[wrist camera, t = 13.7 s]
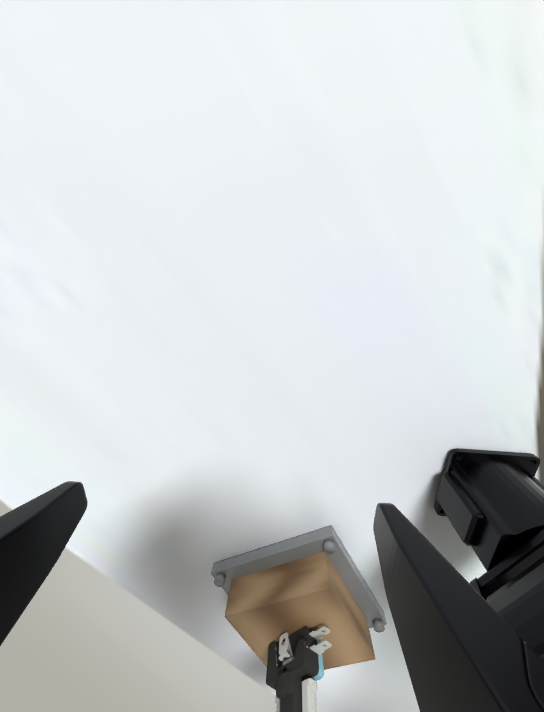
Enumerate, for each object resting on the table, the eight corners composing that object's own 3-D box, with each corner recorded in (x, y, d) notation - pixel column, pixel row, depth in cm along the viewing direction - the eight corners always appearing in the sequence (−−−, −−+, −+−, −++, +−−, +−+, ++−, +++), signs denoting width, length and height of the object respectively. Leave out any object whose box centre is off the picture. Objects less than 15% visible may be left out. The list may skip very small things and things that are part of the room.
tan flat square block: (324, 551, 25) (328, 588, 22) (366, 618, 27) (375, 659, 25) (231, 579, 27) (224, 616, 24) (278, 639, 30) (277, 679, 27)
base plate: (331, 525, 25) (334, 542, 24) (383, 612, 28) (388, 631, 27) (213, 563, 28) (209, 580, 26) (273, 638, 31) (272, 657, 30)
